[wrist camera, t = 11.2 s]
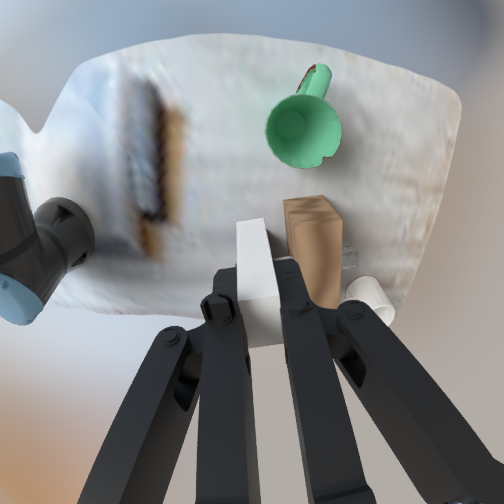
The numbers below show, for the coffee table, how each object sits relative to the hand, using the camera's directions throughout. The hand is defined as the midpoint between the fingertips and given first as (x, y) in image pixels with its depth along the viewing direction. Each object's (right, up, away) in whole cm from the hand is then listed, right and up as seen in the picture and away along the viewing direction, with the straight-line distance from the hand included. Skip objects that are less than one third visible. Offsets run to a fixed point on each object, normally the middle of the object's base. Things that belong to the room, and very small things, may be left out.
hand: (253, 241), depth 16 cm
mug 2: (+22, -9, +43) cm, 49 cm away
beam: (+10, +1, +36) cm, 37 cm away
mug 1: (+7, +21, +23) cm, 32 cm away
